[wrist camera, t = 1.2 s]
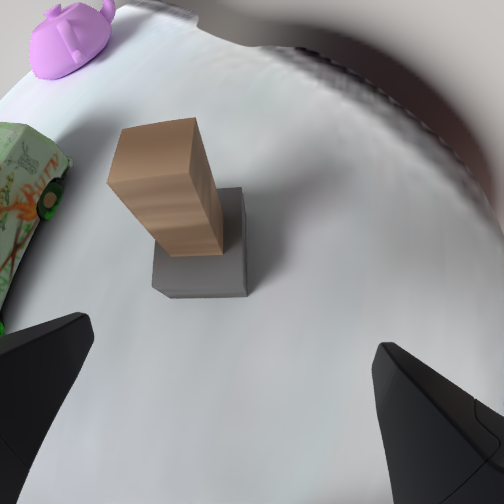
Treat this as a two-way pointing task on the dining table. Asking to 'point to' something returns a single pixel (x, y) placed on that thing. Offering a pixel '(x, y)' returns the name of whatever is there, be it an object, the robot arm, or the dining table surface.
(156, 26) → the dining table surface
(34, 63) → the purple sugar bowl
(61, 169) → the toy car
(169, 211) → the tall wooden pillar block
